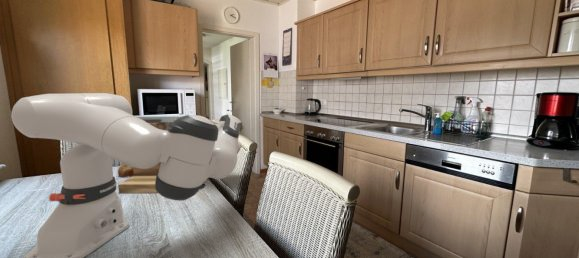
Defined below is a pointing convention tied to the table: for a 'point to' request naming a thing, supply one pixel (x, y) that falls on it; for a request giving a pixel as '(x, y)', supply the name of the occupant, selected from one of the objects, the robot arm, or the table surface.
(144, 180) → the board
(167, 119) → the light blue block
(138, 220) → the table surface
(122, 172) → the bread roll
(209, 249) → the table surface
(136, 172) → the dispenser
